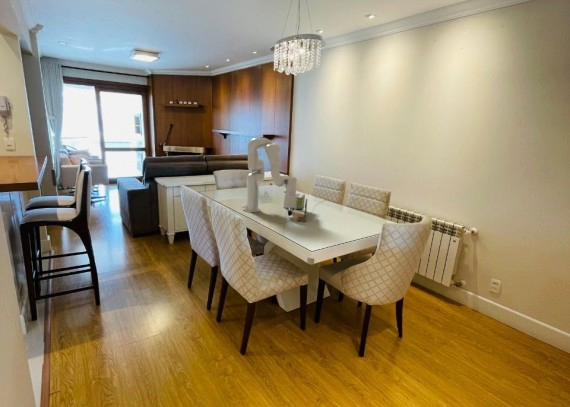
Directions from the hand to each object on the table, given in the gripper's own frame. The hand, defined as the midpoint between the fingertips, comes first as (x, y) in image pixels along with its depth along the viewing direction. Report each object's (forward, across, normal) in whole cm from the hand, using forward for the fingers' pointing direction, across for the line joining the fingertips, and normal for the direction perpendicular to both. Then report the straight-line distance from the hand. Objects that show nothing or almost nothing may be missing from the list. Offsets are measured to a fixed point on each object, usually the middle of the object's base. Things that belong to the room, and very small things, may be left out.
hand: (289, 215), depth 242 cm
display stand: (+1, +9, 0) cm, 9 cm away
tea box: (+2, +5, +18) cm, 18 cm away
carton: (+2, +7, 0) cm, 7 cm away
